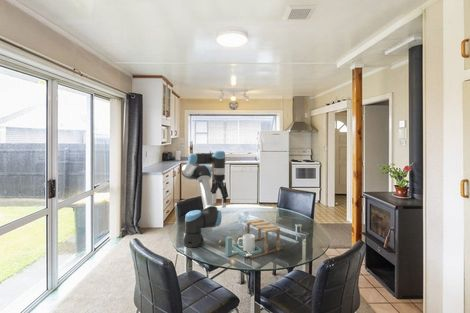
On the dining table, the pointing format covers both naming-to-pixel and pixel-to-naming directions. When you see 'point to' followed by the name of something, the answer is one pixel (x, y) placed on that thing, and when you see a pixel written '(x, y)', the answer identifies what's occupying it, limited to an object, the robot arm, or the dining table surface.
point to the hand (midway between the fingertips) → (219, 205)
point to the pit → (275, 242)
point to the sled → (234, 246)
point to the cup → (247, 242)
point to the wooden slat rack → (266, 228)
